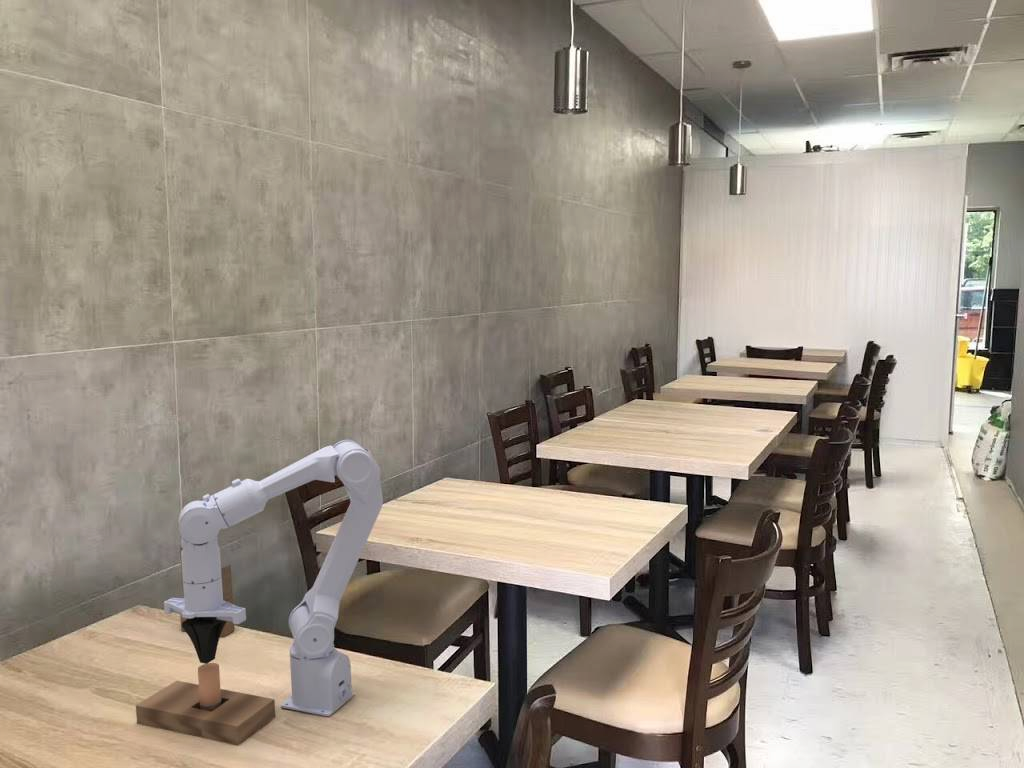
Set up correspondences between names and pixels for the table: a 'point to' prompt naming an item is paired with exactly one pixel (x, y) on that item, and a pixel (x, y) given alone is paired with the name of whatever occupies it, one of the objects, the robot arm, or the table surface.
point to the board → (206, 713)
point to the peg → (209, 686)
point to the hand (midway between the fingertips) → (207, 660)
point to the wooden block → (226, 596)
